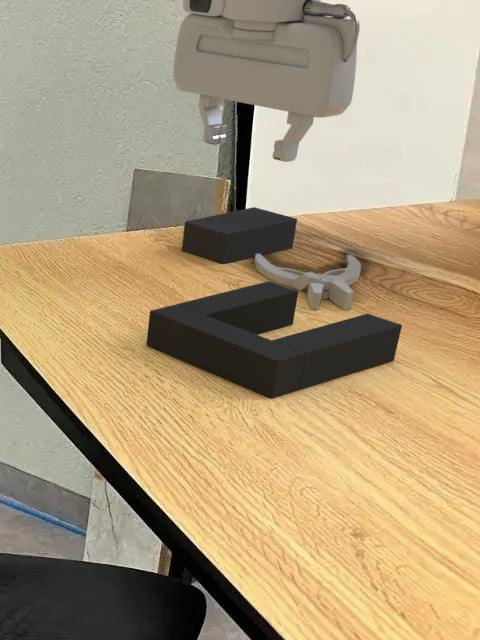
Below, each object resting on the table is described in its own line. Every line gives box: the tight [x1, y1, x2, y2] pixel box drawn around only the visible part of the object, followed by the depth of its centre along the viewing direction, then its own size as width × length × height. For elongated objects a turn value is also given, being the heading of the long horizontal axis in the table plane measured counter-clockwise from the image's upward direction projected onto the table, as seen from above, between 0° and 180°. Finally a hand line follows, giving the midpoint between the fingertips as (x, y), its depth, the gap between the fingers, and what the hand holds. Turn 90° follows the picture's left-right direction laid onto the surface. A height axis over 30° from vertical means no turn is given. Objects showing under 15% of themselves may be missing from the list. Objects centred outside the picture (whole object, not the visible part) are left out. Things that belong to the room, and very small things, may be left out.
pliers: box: [253, 254, 362, 311], centre depth 109 cm, size 10×2×15 cm
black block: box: [181, 206, 298, 265], centre depth 119 cm, size 10×6×3 cm, turn 121°
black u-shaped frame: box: [146, 280, 403, 399], centre depth 94 cm, size 14×14×3 cm
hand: (247, 151), depth 115 cm, fingers open, 8 cm apart
